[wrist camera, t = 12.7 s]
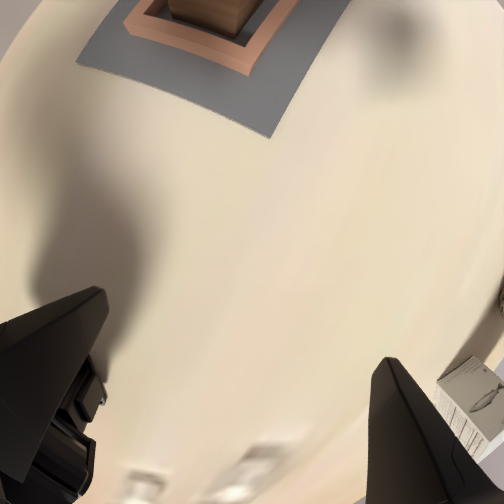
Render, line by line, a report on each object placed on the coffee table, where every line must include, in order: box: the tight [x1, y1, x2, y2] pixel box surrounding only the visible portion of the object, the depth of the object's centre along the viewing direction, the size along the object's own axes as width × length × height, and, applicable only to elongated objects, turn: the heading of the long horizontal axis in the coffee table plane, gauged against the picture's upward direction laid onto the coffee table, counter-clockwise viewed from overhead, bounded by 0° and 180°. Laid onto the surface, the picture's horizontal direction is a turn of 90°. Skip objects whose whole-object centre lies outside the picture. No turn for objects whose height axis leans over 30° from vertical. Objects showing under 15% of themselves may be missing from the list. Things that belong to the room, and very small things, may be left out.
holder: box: [76, 0, 350, 139], centre depth 13 cm, size 16×16×2 cm
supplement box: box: [433, 355, 504, 464], centre depth 22 cm, size 7×7×13 cm
